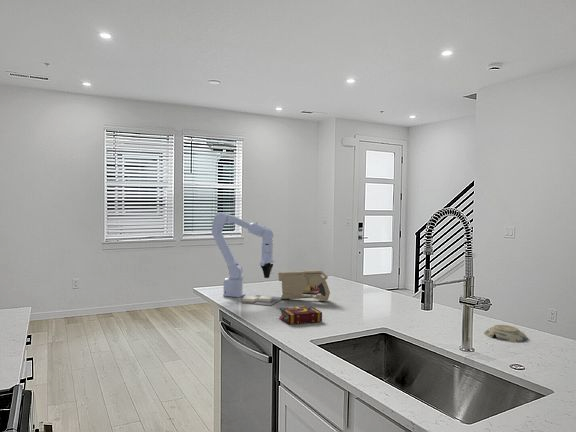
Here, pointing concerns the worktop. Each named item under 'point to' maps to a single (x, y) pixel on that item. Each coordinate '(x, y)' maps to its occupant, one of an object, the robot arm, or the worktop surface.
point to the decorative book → (301, 315)
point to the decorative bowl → (506, 333)
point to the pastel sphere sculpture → (312, 289)
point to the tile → (265, 299)
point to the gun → (303, 284)
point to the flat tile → (250, 299)
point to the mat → (275, 300)
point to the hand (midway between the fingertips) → (266, 277)
